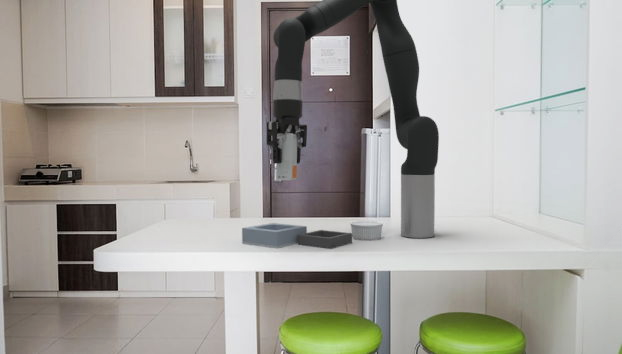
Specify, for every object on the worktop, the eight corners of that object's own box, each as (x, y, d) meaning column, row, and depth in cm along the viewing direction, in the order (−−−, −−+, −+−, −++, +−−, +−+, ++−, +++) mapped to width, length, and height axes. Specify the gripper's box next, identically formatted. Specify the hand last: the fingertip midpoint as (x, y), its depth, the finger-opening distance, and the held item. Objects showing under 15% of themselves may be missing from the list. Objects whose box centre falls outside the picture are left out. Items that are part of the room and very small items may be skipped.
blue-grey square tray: (272, 237, 142) (272, 222, 142) (306, 241, 135) (306, 226, 135) (242, 243, 133) (242, 228, 133) (277, 248, 126) (276, 232, 125)
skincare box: (292, 180, 129) (292, 133, 128) (275, 180, 129) (276, 133, 129) (297, 179, 135) (298, 134, 134) (281, 179, 135) (282, 134, 135)
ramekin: (389, 238, 139) (389, 223, 139) (364, 242, 134) (364, 225, 134) (368, 234, 146) (368, 219, 146) (343, 237, 141) (343, 222, 141)
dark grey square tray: (320, 239, 138) (320, 229, 138) (351, 242, 132) (351, 233, 132) (297, 244, 131) (297, 234, 130) (329, 248, 124) (329, 238, 124)
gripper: (281, 95, 123) (280, 163, 124) (316, 101, 135) (314, 163, 135) (258, 97, 128) (257, 163, 128) (293, 102, 139) (292, 163, 140)
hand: (286, 163), depth 132 cm, fingers closed on skincare box, 7 cm apart
